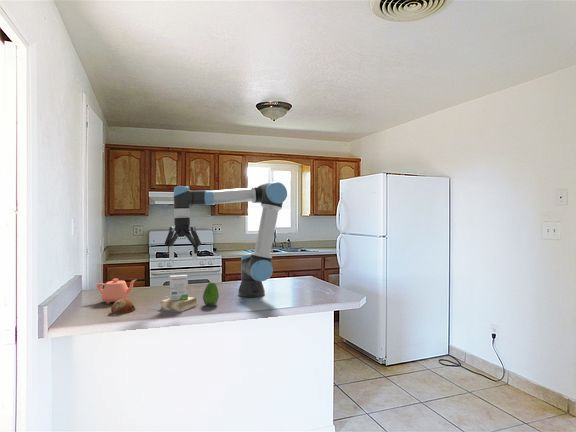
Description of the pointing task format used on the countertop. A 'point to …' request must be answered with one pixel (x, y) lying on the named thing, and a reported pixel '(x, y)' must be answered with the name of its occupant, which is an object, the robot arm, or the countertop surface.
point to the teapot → (115, 290)
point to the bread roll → (122, 306)
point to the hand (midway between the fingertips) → (183, 259)
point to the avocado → (211, 294)
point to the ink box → (178, 287)
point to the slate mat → (163, 309)
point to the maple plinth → (178, 304)
